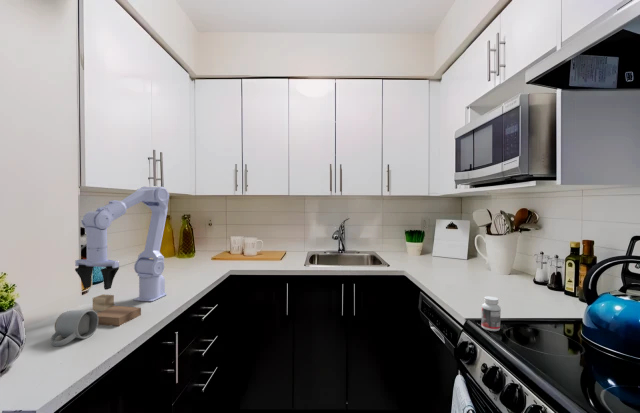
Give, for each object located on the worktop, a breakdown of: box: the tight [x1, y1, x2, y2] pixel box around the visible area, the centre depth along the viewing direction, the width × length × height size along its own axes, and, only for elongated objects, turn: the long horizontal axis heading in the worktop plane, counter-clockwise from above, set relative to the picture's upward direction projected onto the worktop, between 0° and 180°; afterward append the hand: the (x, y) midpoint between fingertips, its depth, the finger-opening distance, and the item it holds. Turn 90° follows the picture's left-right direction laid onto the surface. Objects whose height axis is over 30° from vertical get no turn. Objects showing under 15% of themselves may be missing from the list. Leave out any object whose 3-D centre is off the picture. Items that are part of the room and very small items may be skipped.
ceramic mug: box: [50, 309, 99, 347], centre depth 95 cm, size 11×8×8 cm
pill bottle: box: [480, 295, 502, 332], centre depth 107 cm, size 5×5×10 cm
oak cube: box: [92, 294, 115, 312], centre depth 119 cm, size 4×4×4 cm
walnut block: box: [96, 305, 142, 327], centre depth 110 cm, size 10×10×3 cm
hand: (97, 288), depth 111 cm, fingers open, 7 cm apart
